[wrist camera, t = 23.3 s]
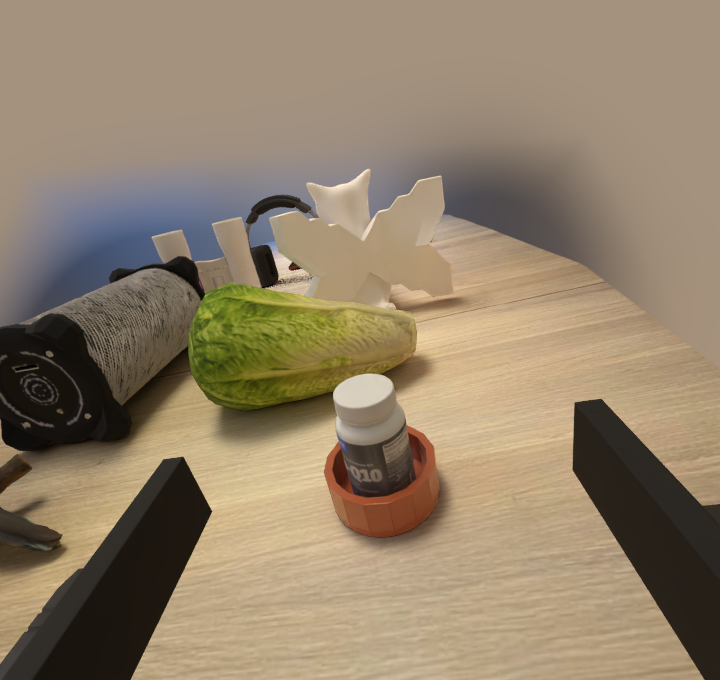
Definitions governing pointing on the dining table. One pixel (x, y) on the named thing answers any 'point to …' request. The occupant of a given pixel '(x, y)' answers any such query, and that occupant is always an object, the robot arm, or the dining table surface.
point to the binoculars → (235, 258)
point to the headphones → (263, 252)
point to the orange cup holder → (390, 510)
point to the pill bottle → (373, 436)
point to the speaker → (94, 355)
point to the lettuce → (289, 345)
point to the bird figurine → (18, 528)
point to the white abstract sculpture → (367, 243)
